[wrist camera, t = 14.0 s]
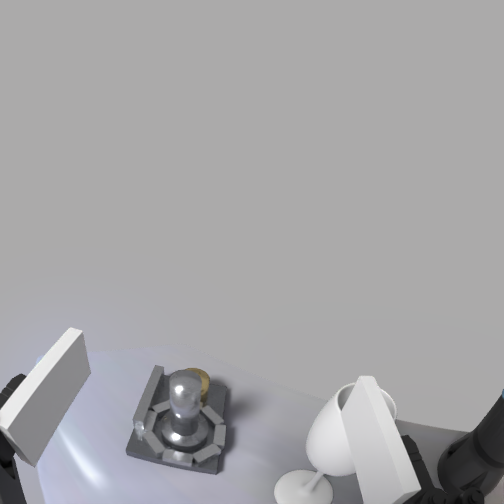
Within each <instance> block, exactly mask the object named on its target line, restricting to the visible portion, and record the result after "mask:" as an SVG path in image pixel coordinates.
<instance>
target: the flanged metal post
mask: <svg viewBox="0 0 504 504" xmlns="http://www.w3.org/2000/svg"><path fill="white" fill-rule="evenodd" d="M201 387H202V379H201V377H200V376H199V375H198V374H197V373H195V372H193V371H190V370H178V371H176V372H174V373H173V374H172V375H171V376H170V411H169V412H168V413H166V414H165V415H164V416H163V418H162V420H161V425H160V426H161V435H162V438H163V440H164V441H165V442H166V443H167V444H168V445H169V446H170V447H172V448H174V449H176V450H180V451H193V450H196V449H198V448H200V447H202V446H203V445H204V444H205V442H206V440H207V437H208V423H207V421H206V419H205V418H204V417H203V416H202V415H201V414H199V410H200V398H201Z"/></svg>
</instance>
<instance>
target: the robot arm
mask: <svg viewBox="0 0 504 504" xmlns="http://www.w3.org/2000/svg"><path fill="white" fill-rule="evenodd" d="M90 374H91V371H90V367H89V362H88V357H87V352H86V347H85V341H84V335H83V331H81V330H77V329H74V328H71V327H70V328H69V329H68V330H67V331H66V332H65V333H64V335H62V337H61V338H60V339H59V340H58V341H57V342H56V343H55V344H54V345H53V347H52V348H51V349H50V350H49V351H48V352H47V353H46V354H45V356H44V357H43V358H42V359H41V360H40V361H39V363H38V364H37V365H36V366H35V367H34V369H33V370H32V371H31V372H30V373H29V374H28V376H25V375H23V374H19V375H18V376H16V377H14V378H12V380H11V381H10V382H9V383H8V384H7V386H6V388H4V389H3V390H2V392H1V393H0V504H27V503H26V500H25V497H24V493H23V490H22V487H21V483H20V479H19V475H18V471H17V467H16V463H15V459H14V457H13V456H14V454H15V452H16V453H17V455H18V456H19V457H20V459H21V460H23V461H25V462H26V463H28V464H30V465H31V466H33V467H35V466H36V464H37V462H38V460H39V459H40V457H41V455H42V453H43V451H44V449H45V448H46V446H47V444H48V442H49V441H50V439H51V437H52V435H53V434H54V432H55V430H56V429H57V427H58V425H59V423H60V422H61V420H62V418H63V417H64V415H65V413H66V412H67V410H68V408H69V407H70V405H71V404H72V402H73V400H74V399H75V397H76V396H77V394H78V392H79V391H80V389H81V388H82V386H83V385H84V383H85V381H86V380H87V378H88V377H89V375H90ZM340 414H341V418H342V421H343V425H344V429H345V432H346V436H347V440H348V443H349V447H350V451H351V454H352V458H353V462H354V466H355V470H356V474H357V478H358V482H359V486H360V490H361V494H362V498H363V502H364V504H484V497H485V496H487V495H488V494H489V493H490V492H491V491H492V490H493V489H494V488H495V487H496V486H497V484H498V483H499V481H500V480H501V478H502V477H503V475H504V389H503V391H502V395H501V396H500V397H499V399H498V400H497V402H496V403H495V404H494V406H493V407H492V408H491V410H490V411H489V412H488V414H487V415H486V416H485V417H484V419H483V420H482V421H481V422H480V424H479V425H478V426H477V427H476V428H475V429H474V430H473V431H472V432H470V433H468V434H467V435H465V436H464V437H462V438H460V439H459V440H457V441H456V442H454V443H453V444H452V445H451V446H450V447H449V448H448V449H447V450H446V451H445V452H444V453H443V454H442V456H441V458H440V460H439V464H438V476H439V480H440V483H441V485H442V487H443V488H444V490H445V491H446V492H447V494H446V493H445V492H444V491H443V490H441V489H438V488H435V487H434V485H433V483H432V481H431V478H430V476H429V474H428V471H427V469H426V466H425V464H424V462H423V461H422V457H421V455H420V454H419V450H418V448H417V446H416V443H415V442H414V441H413V440H412V439H411V438H410V437H409V436H408V435H405V436H400V434H399V432H398V430H397V427H396V425H395V423H394V420H393V418H392V416H391V414H390V411H389V409H388V407H387V405H386V402H385V400H384V398H383V396H382V394H381V391H380V389H379V387H378V385H377V383H376V381H375V378H374V377H373V376H360V377H359V379H358V380H357V382H356V384H355V386H354V388H353V390H352V392H351V394H350V396H349V398H348V400H347V402H346V403H345V405H344V407H343V409H342V411H341V412H340Z"/></svg>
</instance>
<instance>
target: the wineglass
mask: <svg viewBox="0 0 504 504" xmlns="http://www.w3.org/2000/svg"><path fill="white" fill-rule="evenodd" d="M355 384H356V383H351V384H347V385H345V386H343V387H342V388H340V389H339V390H338V391H337V392H336V394H335V395H334V396H333V397H332V398H331V399H330V400H329V401H328V402H327V404H326V405H325V406H324V407H323V409H322V410H321V411H320V413H319V414H318V416H317V417H316V419H315V421H314V423H313V424H312V427H311V429H310V431H309V434H308V437H307V441H306V452H307V456H308V458H309V460H310V462H311V464H312V465H313V466H314V467H315V468H316V469H317V470H318V471H317V473H316V472H314V471H310V470H295V471H291V472H288V473H286V474H285V475H283V476H282V477H281V478H280V479H279V480H278V482H277V483H276V486H275V490H274V494H275V498H276V501H277V503H278V504H331V502H332V499H333V489H332V486H331V484H330V483H329V481H328V480H327V479H326V478H325V477H323V475H324V474H327V475H331V476H347V475H350V474H353V473H356V470H355V466H354V462H353V458H352V454H351V451H350V447H349V443H348V440H347V436H346V432H345V429H344V425H343V421H342V418H341V414H340V412H341V411H342V409H343V407H344V405H345V403H346V402H347V400H348V398H349V396H350V394H351V392H352V390H353V388H354V386H355ZM379 389H380V391H381V394H382V396H383V398H384V400H385V402H386V405H387V407H388V409H389V411H390V414H391V416H392V418H393V420H394V423H395V420H396V417H397V407H396V404H395V402H394V400H393V399H392V398H391V396H390V395H389V394H388V393H386V392H385V391H384V390H382V389H381V388H379Z"/></svg>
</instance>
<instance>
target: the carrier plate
mask: <svg viewBox="0 0 504 504" xmlns="http://www.w3.org/2000/svg"><path fill="white" fill-rule="evenodd" d="M185 370H190V371H193V372H195V373H197V374H198V375H199V376H200V377H201V379H202V387H201V398H200V410H199V414H201V415H202V416H203V417H204V418H205V419H206V421H207V423H208V437H207V440H206V442H205V444H204V445H203V446H202V447H200V448H198V449H196V450H193V451H180V450H176V449H174V448H172V447H170V446H169V445H168V444H167V443H166V442H165V441H164V440H163V438H162V435H161V426H160V425H161V420H162V418H163V416H164V415H165V414H166V413H168V412H169V411H170V376H166V375H164V367H161V366H157V365H155V367H154V369H153V372H152V374H151V376H150V379H149V381H148V383H147V386H146V388H145V390H144V393H143V395H142V398H141V400H140V402H139V405H138V407H137V410H136V412H135V415H134V417H133V423H134V429H133V432H132V434H131V437H130V440H129V442H128V445H127V448H126V453H127V455H129V456H132V457H135V458H139V459H142V460H146V461H150V462H154V463H158V464H162V465H166V466H170V467H175V468H180V469H185V470H190V471H196V472H202V473H208V474H215V475H216V473H217V466H218V457H219V454H221V449H223V450H224V444H225V434H226V425H224V420H223V413H224V404H225V396H226V387H225V386H219V385H212V384H209V380H210V379H209V376H208V374H207V373H206V372H204V371H203V370H201V369H197V368H188V369H185Z"/></svg>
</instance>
